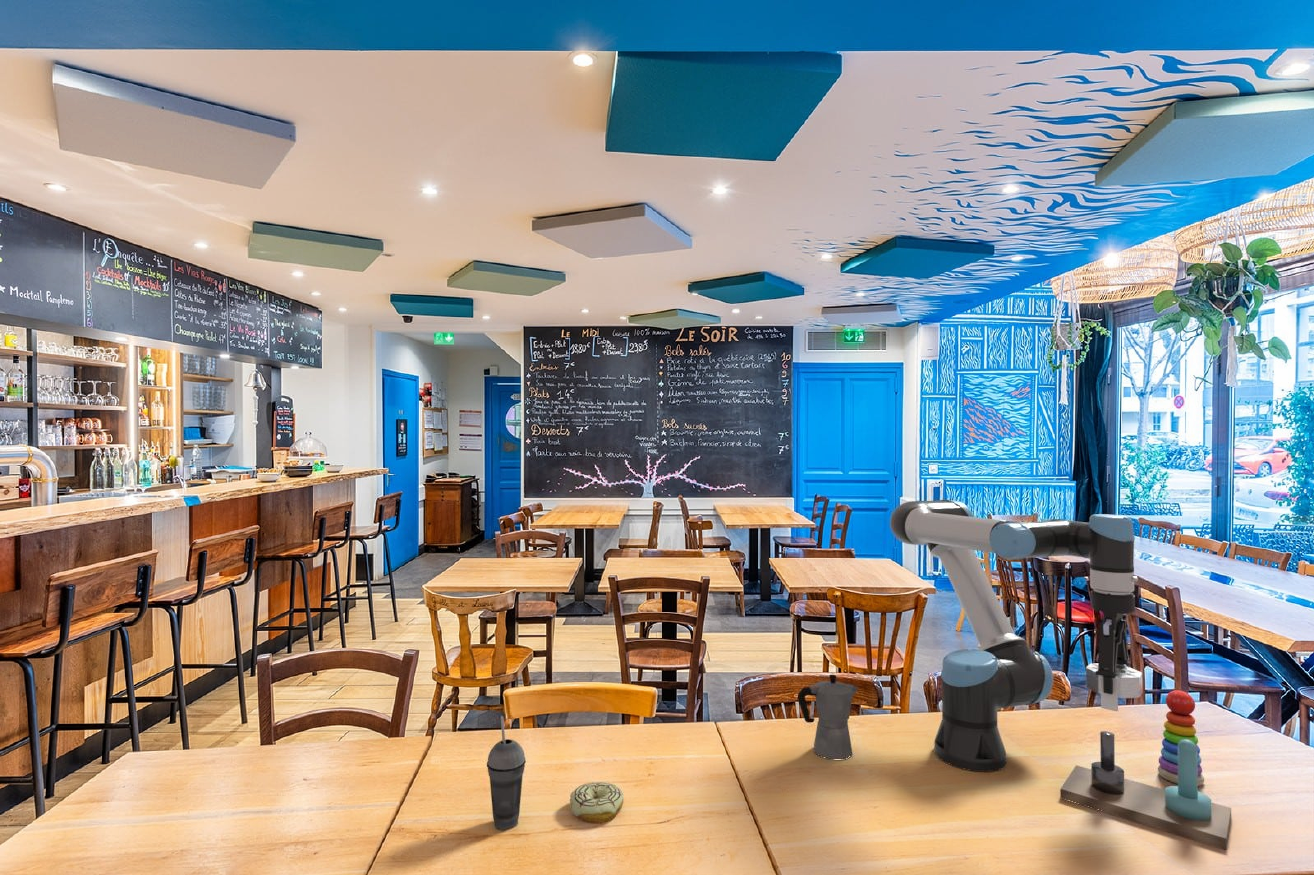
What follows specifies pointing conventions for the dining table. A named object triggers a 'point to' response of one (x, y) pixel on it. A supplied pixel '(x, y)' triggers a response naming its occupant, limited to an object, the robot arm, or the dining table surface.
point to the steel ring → (1126, 680)
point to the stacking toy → (1177, 734)
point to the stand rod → (1107, 768)
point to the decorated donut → (596, 802)
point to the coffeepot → (830, 717)
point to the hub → (1188, 787)
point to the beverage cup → (506, 781)
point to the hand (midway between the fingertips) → (1114, 702)
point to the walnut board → (1147, 808)
